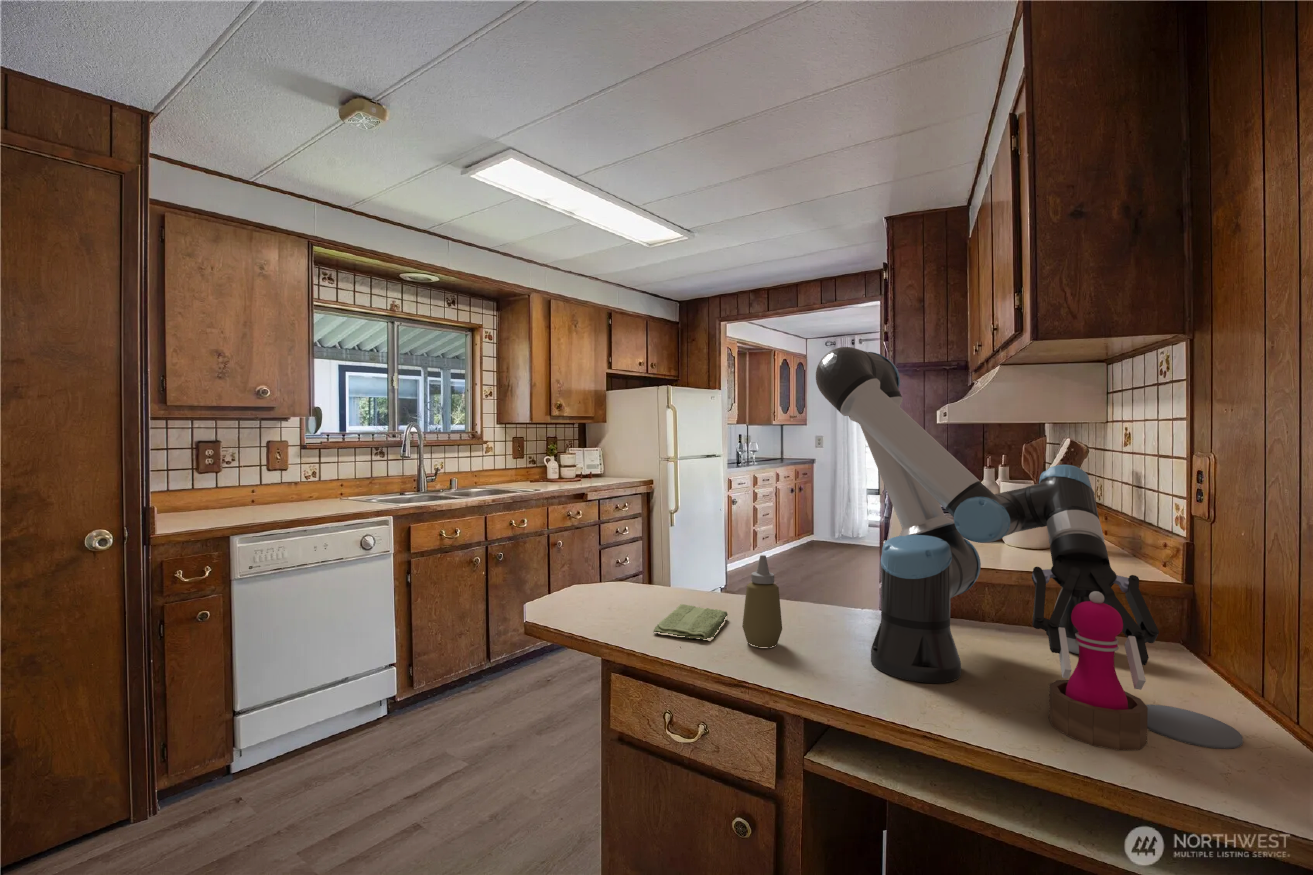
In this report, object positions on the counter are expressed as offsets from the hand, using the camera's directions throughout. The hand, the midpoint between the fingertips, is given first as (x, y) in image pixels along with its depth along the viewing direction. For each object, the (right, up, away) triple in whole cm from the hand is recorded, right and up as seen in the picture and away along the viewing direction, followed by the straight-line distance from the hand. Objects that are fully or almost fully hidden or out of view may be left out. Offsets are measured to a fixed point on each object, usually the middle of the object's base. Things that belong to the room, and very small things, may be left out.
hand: (1102, 679), depth 81 cm
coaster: (+15, -9, +4) cm, 18 cm away
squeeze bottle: (-41, -9, +37) cm, 56 cm away
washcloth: (-54, -9, +48) cm, 73 cm away
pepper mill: (+1, -9, +3) cm, 9 cm away
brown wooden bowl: (+1, -9, +3) cm, 9 cm away
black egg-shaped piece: (+23, -9, +35) cm, 43 cm away
